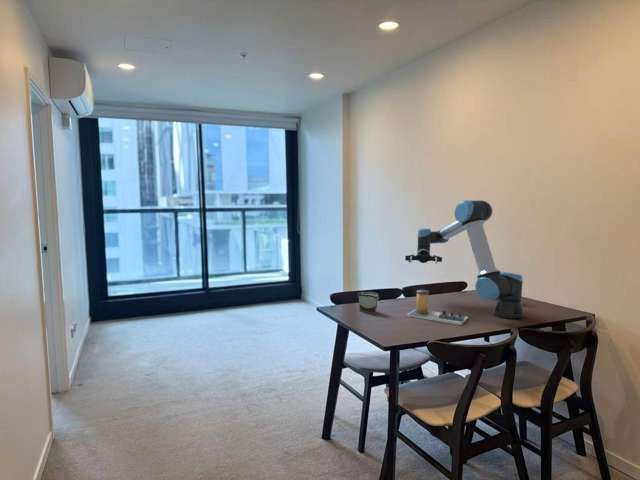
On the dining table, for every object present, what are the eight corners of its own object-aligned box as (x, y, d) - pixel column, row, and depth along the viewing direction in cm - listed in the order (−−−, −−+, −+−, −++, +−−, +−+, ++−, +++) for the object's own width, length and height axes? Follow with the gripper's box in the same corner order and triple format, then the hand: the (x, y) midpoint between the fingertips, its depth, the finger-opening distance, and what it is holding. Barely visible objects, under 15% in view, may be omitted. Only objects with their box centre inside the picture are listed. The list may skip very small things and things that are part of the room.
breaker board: (467, 319, 227) (468, 310, 227) (460, 325, 216) (461, 315, 216) (416, 311, 242) (416, 302, 242) (407, 316, 232) (407, 307, 231)
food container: (382, 311, 241) (382, 293, 240) (377, 313, 236) (377, 295, 235) (362, 308, 247) (362, 290, 246) (357, 310, 242) (357, 292, 241)
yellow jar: (429, 312, 235) (430, 290, 234) (425, 314, 230) (426, 293, 228) (418, 309, 238) (419, 289, 237) (413, 312, 233) (414, 291, 232)
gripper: (445, 263, 259) (446, 268, 238) (402, 261, 265) (400, 266, 244) (445, 250, 258) (447, 254, 238) (402, 249, 264) (400, 253, 243)
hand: (423, 260), depth 241 cm, fingers open, 13 cm apart
